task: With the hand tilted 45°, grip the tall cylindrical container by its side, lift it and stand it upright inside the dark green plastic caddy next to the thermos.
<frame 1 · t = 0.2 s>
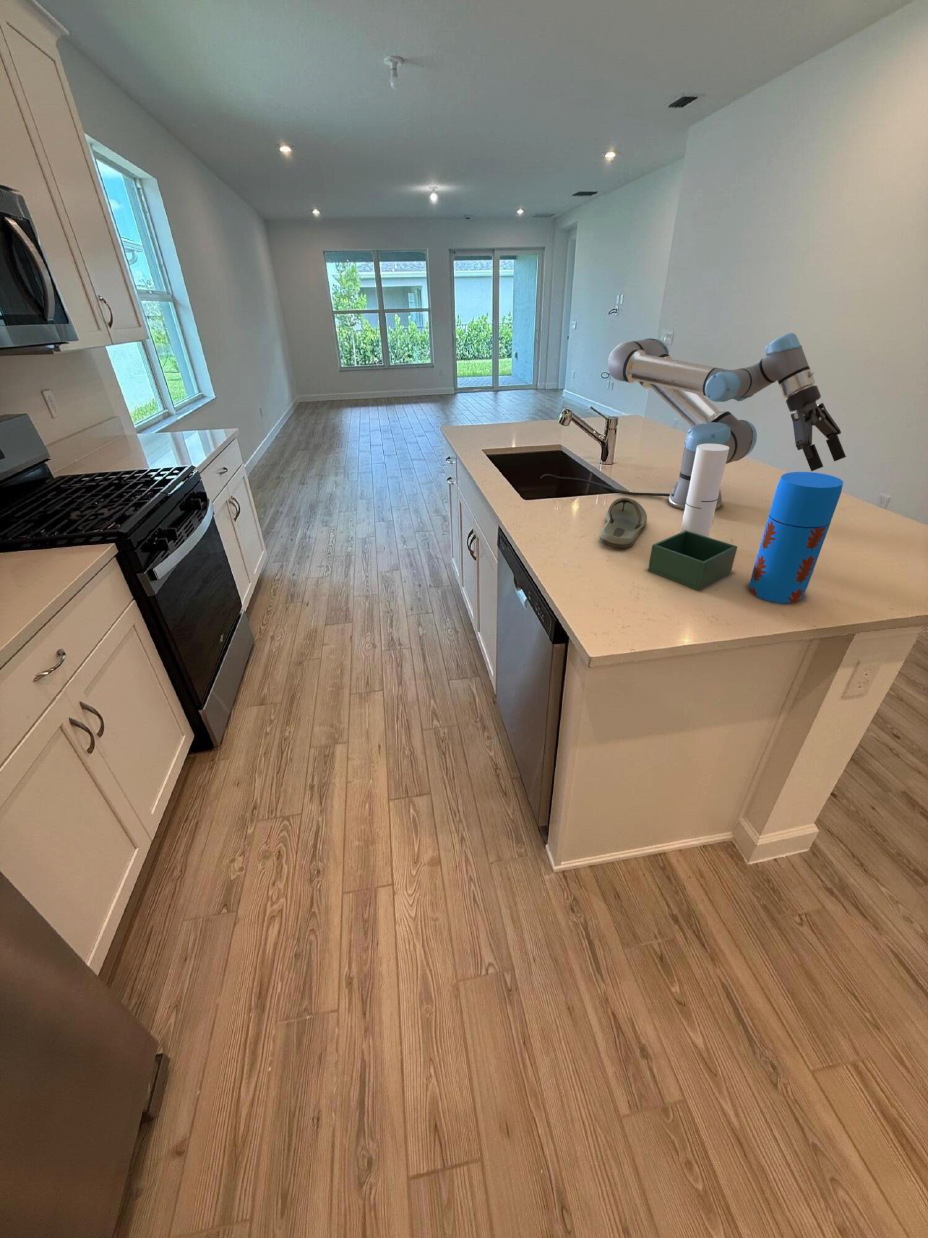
hand: (829, 464, 138), 15 cm above the counter, tool tilted 35°, fingers open, 13 cm apart
thermos: (775, 592, 112), on the counter
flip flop: (621, 531, 145), on the counter
caddy: (688, 571, 121), on the counter
cylindrical container: (692, 543, 135), on the counter
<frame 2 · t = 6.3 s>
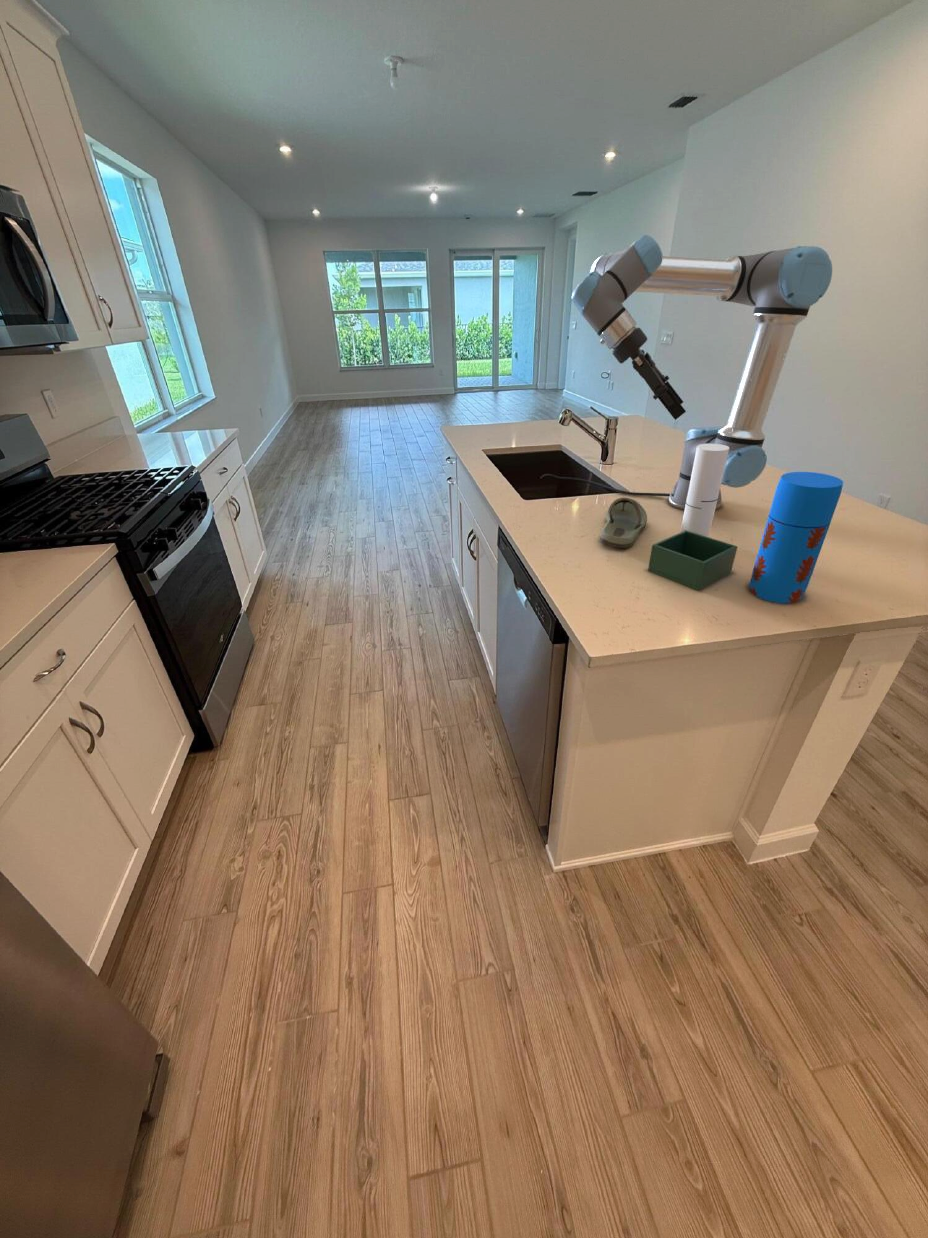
hand: (679, 410, 120), 33 cm above the counter, tool tilted 45°, fingers open, 13 cm apart
nothing on the counter moved.
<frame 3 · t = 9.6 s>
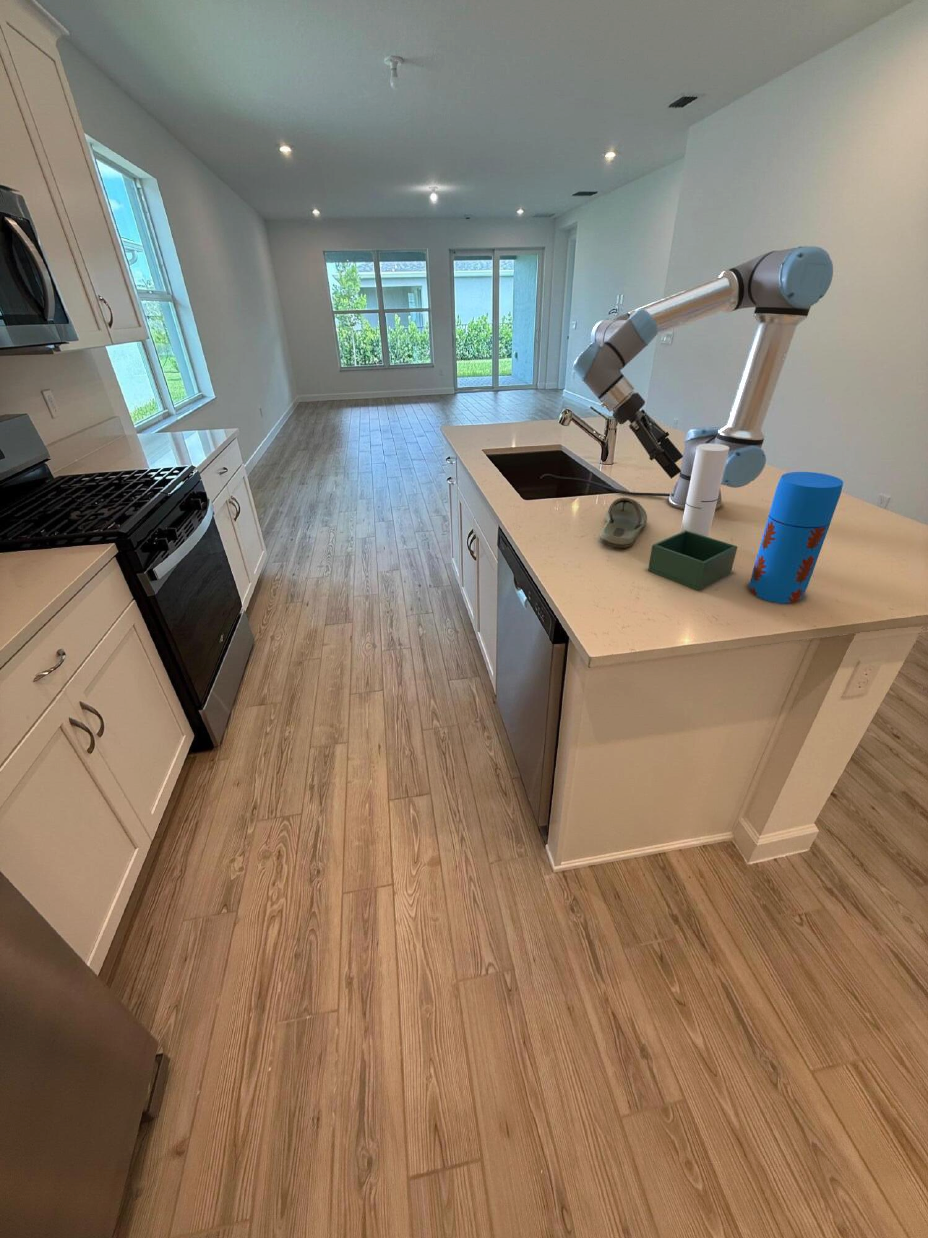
hand: (677, 467, 127), 20 cm above the counter, tool tilted 45°, fingers open, 13 cm apart
nothing on the counter moved.
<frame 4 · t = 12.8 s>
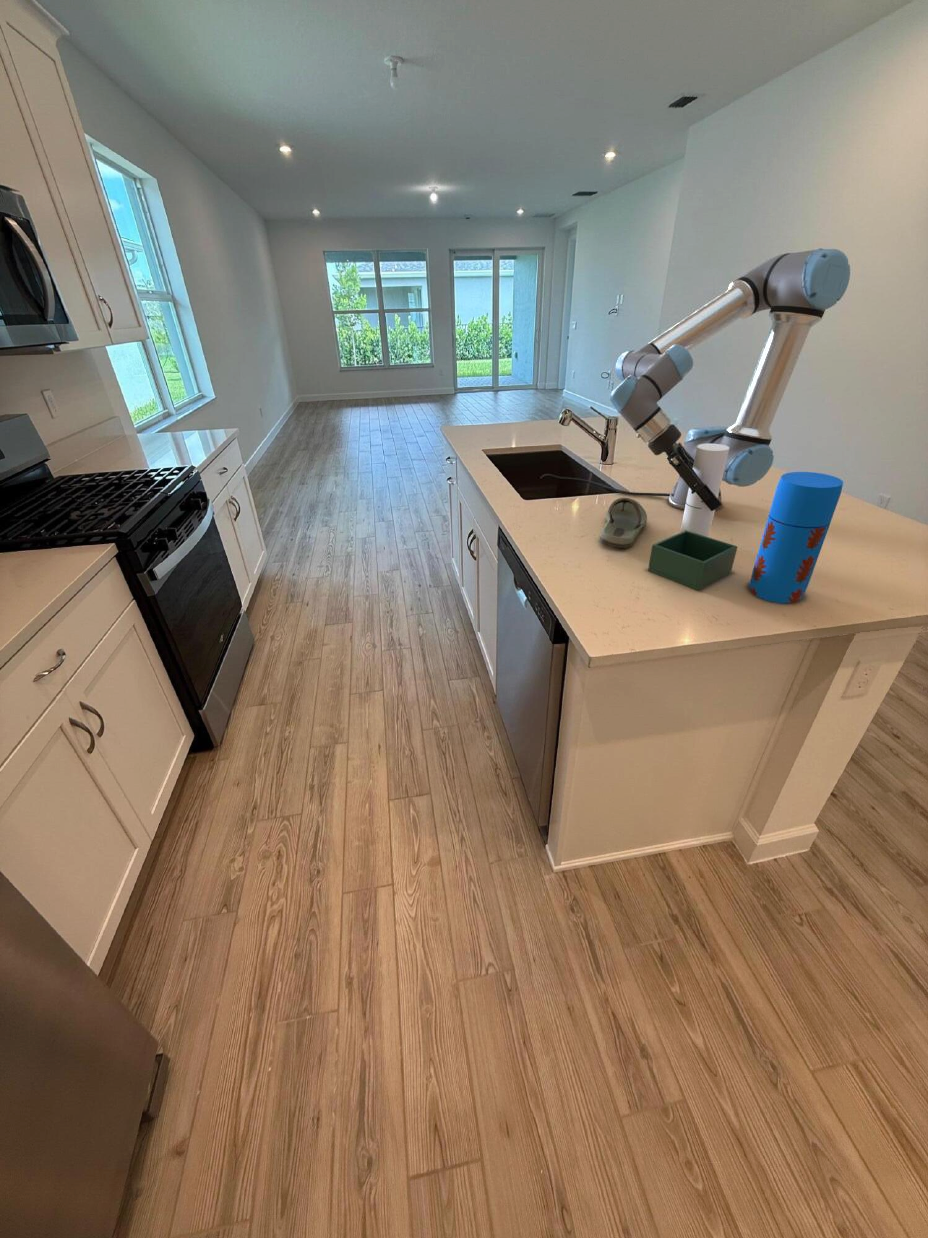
hand: (716, 502, 128), 12 cm above the counter, tool tilted 45°, fingers closed on cylindrical container, 7 cm apart
cylindrical container: (692, 543, 135), on the counter, touching gripper
everything else where it was.
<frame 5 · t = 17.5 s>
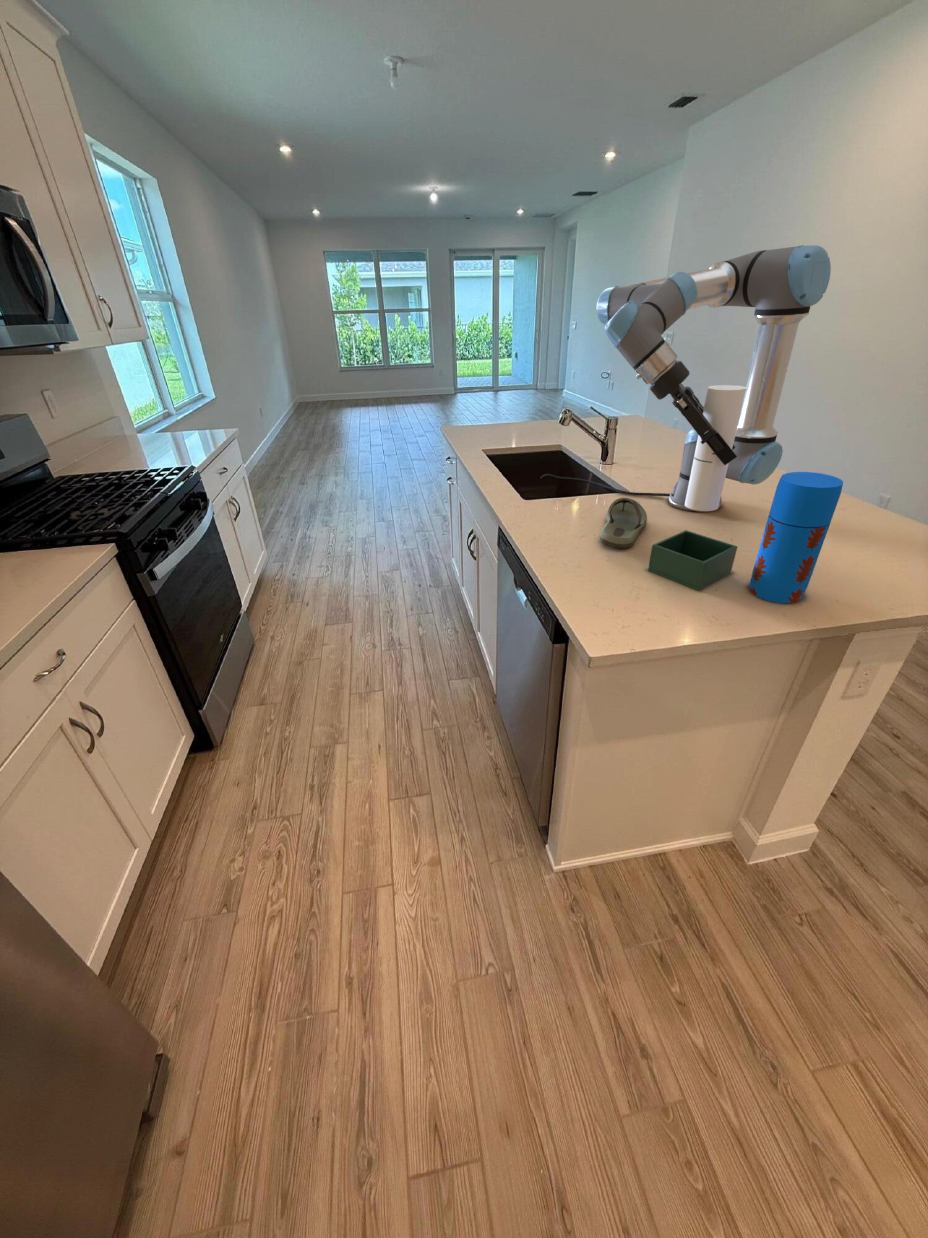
hand: (729, 455, 109), 27 cm above the counter, tool tilted 45°, fingers closed on cylindrical container, 7 cm apart
cylindrical container: (701, 506, 116), point 15 cm above the counter, touching gripper
everything else where it was.
when the fingers open (12 cm above the counter, at t = 22.1 s): cylindrical container stays where it is, resting on caddy.
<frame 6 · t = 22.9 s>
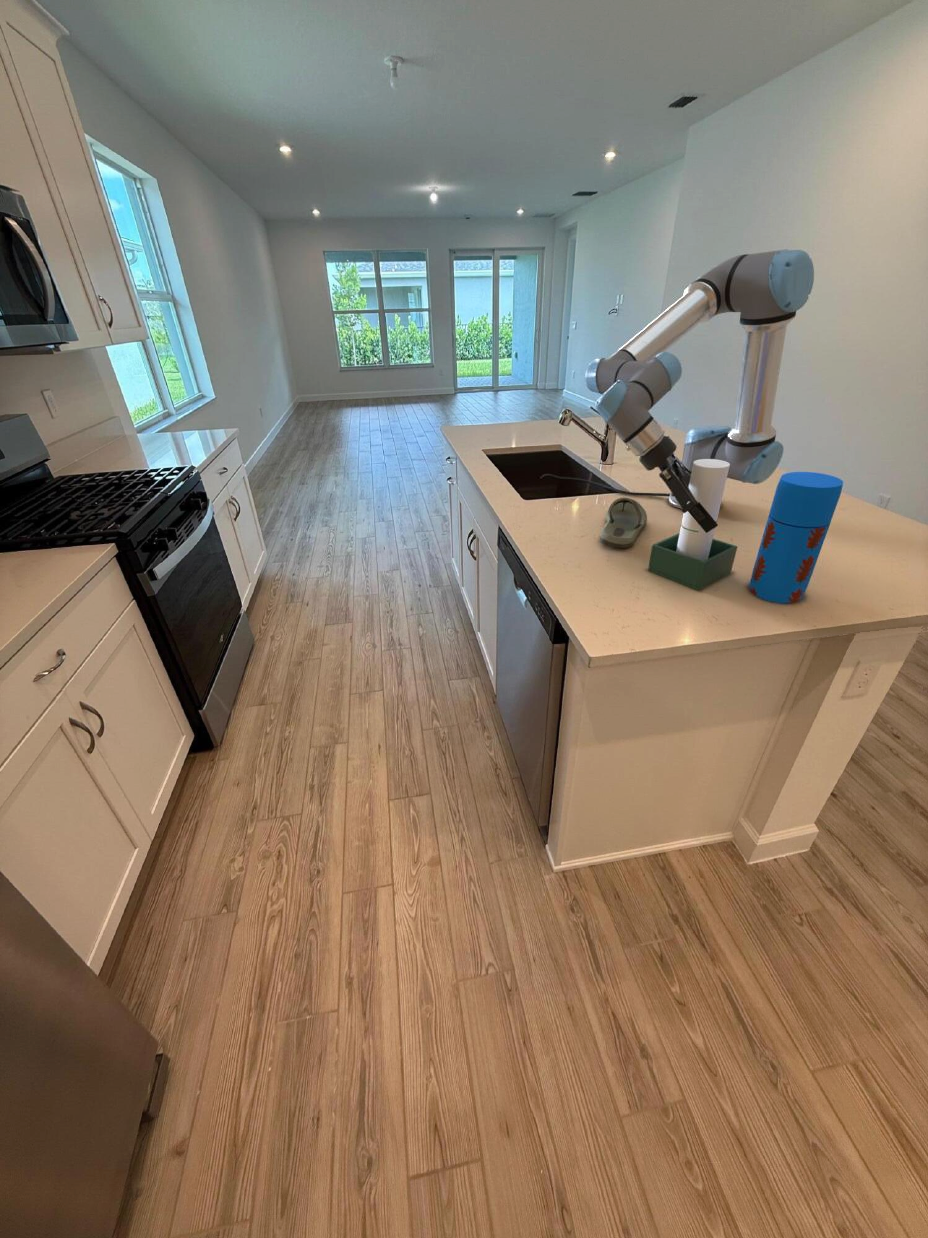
hand: (711, 517, 113), 14 cm above the counter, tool tilted 45°, fingers open, 13 cm apart
cylindrical container: (688, 569, 121), point 1 cm above the counter, touching caddy
everything else where it was.
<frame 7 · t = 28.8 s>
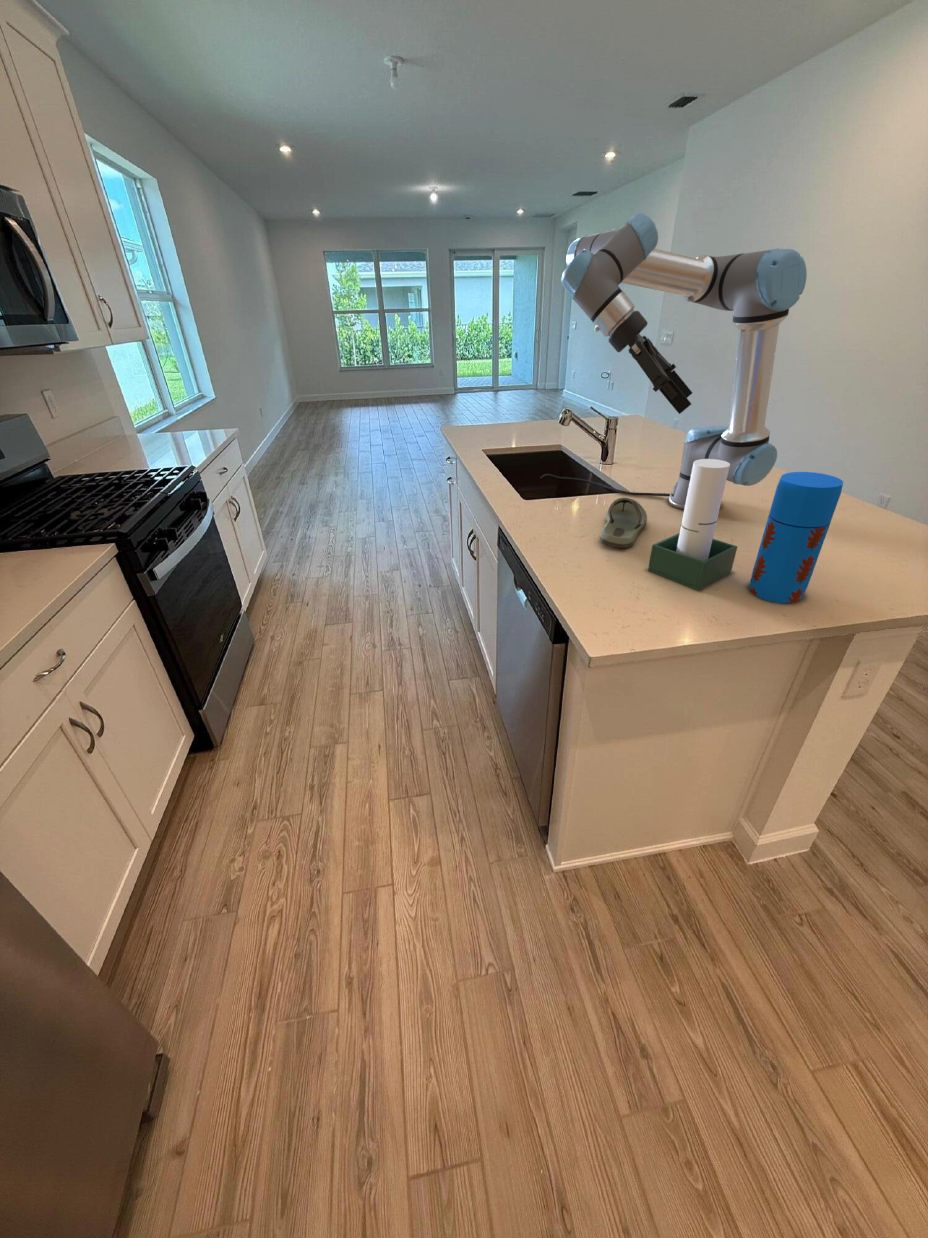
hand: (686, 403, 107), 37 cm above the counter, tool tilted 45°, fingers open, 13 cm apart
nothing on the counter moved.
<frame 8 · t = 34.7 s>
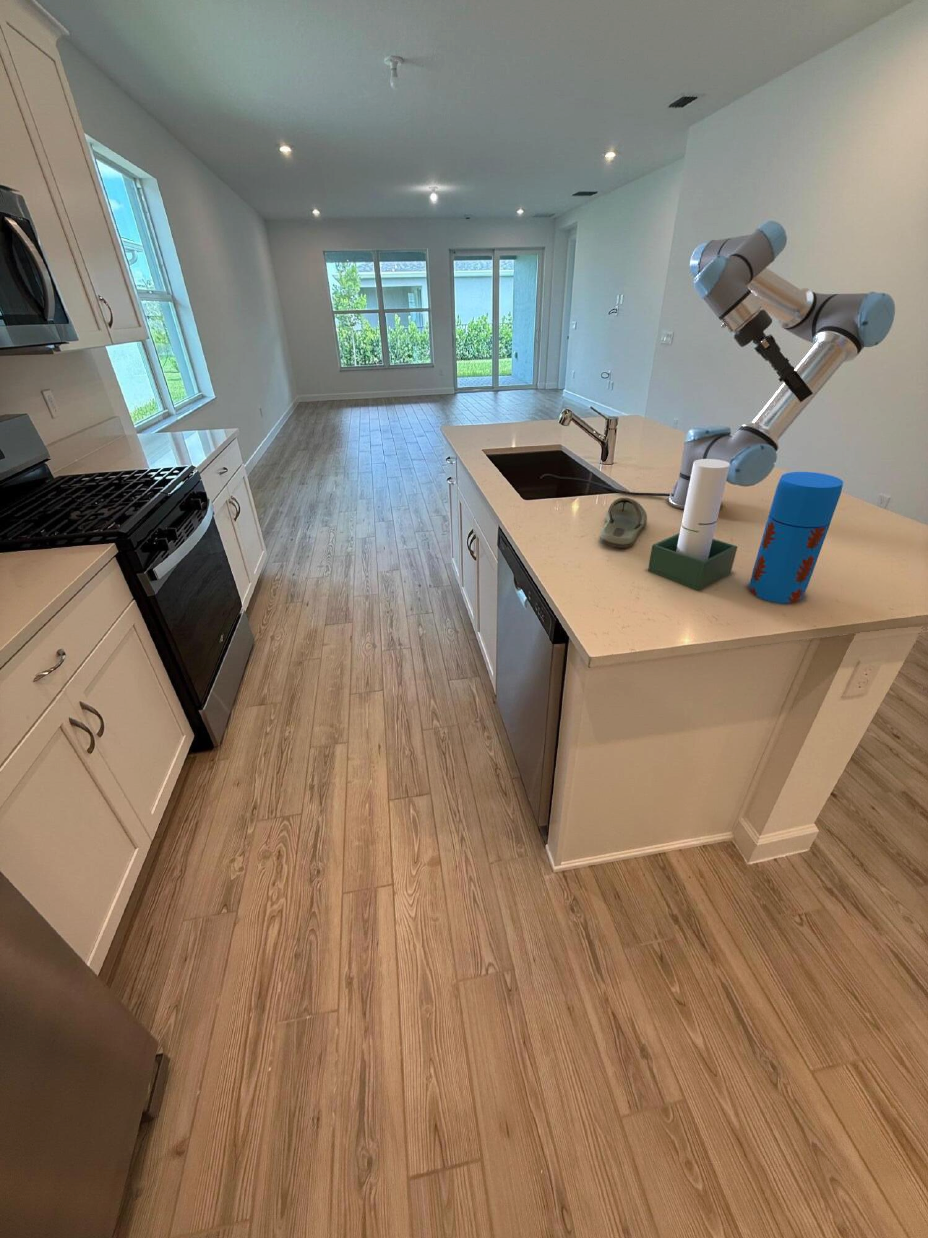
hand: (802, 392, 119), 36 cm above the counter, tool tilted 45°, fingers open, 13 cm apart
nothing on the counter moved.
at the end: cylindrical container inside the target area in the caddy (0.1 cm from its centre), point 0.6 cm above the caddy's base; cylindrical container tilted 0°; the gripper is holding nothing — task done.
